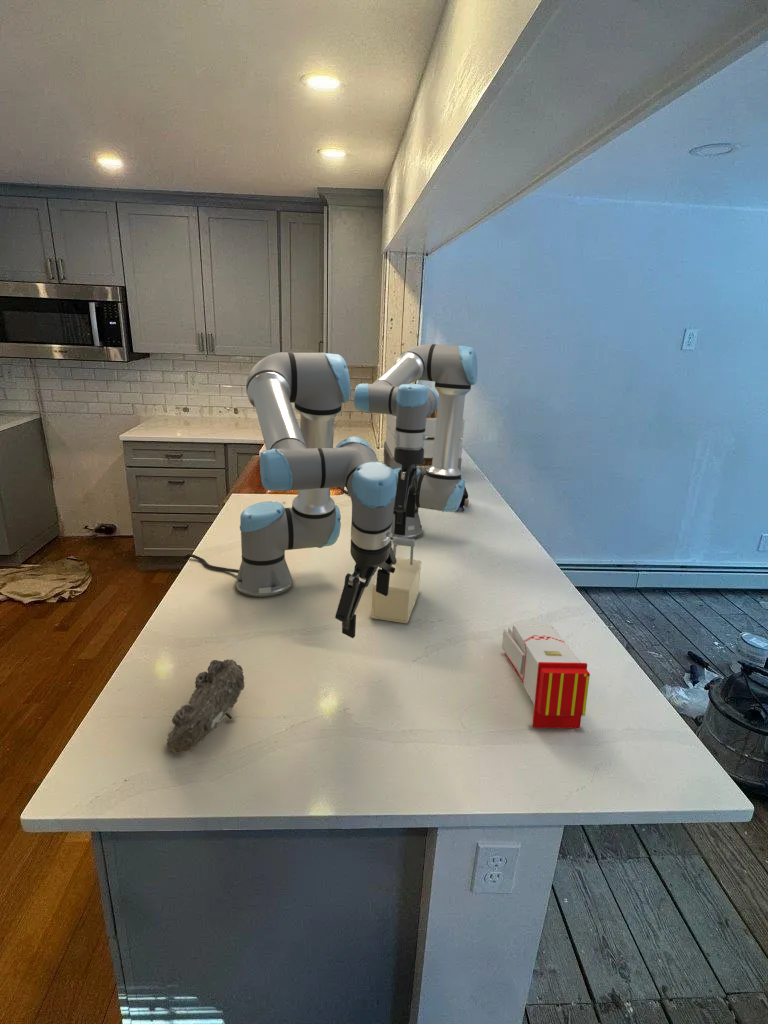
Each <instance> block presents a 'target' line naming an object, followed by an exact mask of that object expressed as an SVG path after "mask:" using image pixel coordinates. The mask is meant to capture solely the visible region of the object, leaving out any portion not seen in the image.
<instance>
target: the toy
mask: <svg viewBox="0 0 768 1024" xmlns="http://www.w3.org/2000/svg"><path fill="white" fill-rule="evenodd" d="M507 629H508V630H507ZM507 629H503V633H502V640H501V649H502V650H503V652H504V656H505V657H506V659H507V660H508V662H509V664H510V665H511V667H512V669H513V671H514V672H515V673H516V675H517V676H518V678H519V679H520V681H521V683H522V684H523V687H524V688H525V690H526V692H527V694H528V696H529V698H530V700H531V702H532V704H533V715H532V726H531V727H532V728H533V729H581V723H582V717H585V716H586V710H587V701H588V695H589V694H588V693H589V685H590V677H591V674H590V672H589V671H588V663H587V662H581V660H580V659H579V658H578V657H577V655H576V654H575V652H573V651H572V649H571V647H570V646H569V645H568V644H567V643H566V641H565V640H564V639H563V638H562V636H561V635H560V634H559V632H558V630H556V629H555V627H554V626H553V624H539V623H538V624H536V623H535V624H532V623H531V624H530V623H512V625H511V626H510V625H508V628H507Z"/></svg>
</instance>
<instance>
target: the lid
mask: <svg viewBox="0 0 768 1024" xmlns="http://www.w3.org/2000/svg"><path fill="white" fill-rule="evenodd" d="M397 546H404V547H409V548H410V552H409V553H410V555H409V558H404V557H397ZM415 546H416V538H415V539H407V538H400V537H393V539H392V549H393V552H394V555H395V557H396V560H397V561H396V564H395V565H393V564H392V567H394V568H395V572H394V573H391V572H390V579H389V590H395V591H402V592H410V589H411V587H412V584H413V582H414V580H415V577H416V575H417V572H418V570H419V567H420V565H421V566H422V560H419V559H414V552H415V551H414V549H415ZM380 569H381V570H382V568H380ZM376 582H377V577H376V578H375V580H374V581H373V584H372V588H373V587H375V588H376Z"/></svg>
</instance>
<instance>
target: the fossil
mask: <svg viewBox="0 0 768 1024" xmlns="http://www.w3.org/2000/svg"><path fill="white" fill-rule="evenodd" d="M243 670H244V669H243V667H242V665H240V664H237V662H236V661H235V660H234V659H232V658H231V659H227V658H226V659H224V660H223V661H222V660H217V659H212V660H211V661H210V663H209V665H208V666H207V671H201V672H199V673H198V674H197V675H196V676H195V680H194V684H195V685H194V687H195V689H194V690H193V693H192V694H191V697H190V698H189V700H188V704H184V705H182V706H181V707H180V709H177V710H176V711H175V713H174V715H173V716H172V718H171V723H172V724H173V727H172V730H171V731H170V732H168V734H167V738H166V741H167V742H166V745H167V749H168V750H169V751H173V752H174V753H176V754H178V753H182V752H188V751H189V752H192V751H193V750H195V748H196V747H197V746H199V744H200V743H201V742H203V741H204V740H205V739H206V738H207V737H208V736H209V735H210V734H211V733H212V732H214V730H215V729H217V727H218V726H219V724H220V722H221V721H222V720H223V719H224V718H225V716H226V717H227V719H229V720H233V717H232V715H230V714H229V710H230V709H231V708H234V706H235V704H236V703H237V702H238V699H239V697H240V695H241V693H242V691H243V690H245V689H244V688H245V675H244V671H243Z"/></svg>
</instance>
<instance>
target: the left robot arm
mask: <svg viewBox="0 0 768 1024" xmlns="http://www.w3.org/2000/svg"><path fill="white" fill-rule="evenodd" d="M349 373H350V372H349V368H348V365H347V363H346V360H345V358H344V357H343V356H342V355H341V354H338V353H327V352H324V351H323V352H286V351H283V352H282V351H279V352H275V353H272V354H270V355H266V356H265V357H264V358H262V359H261V360H259V361H258V362H257V363H256V364H255V365H254V366H253V367H252V369H251V370H250V371H249V373H248V376H247V379H246V385H245V388H246V390H245V391H246V395H247V399H248V401H249V403H250V404H251V405H252V406H253V408H255V411H256V415H257V419H258V422H259V427H260V430H261V435H262V439H263V442H264V446H265V449H266V450H263V451H261V452H260V455H259V475H260V482H261V485H262V488H263V489H264V490H266V491H272V492H274V491H275V492H276V491H277V492H278V491H279V492H280V491H282V492H289V491H297V495H296V496H295V497H294V498H293V499H292V501H291V507H285V505H284V504H283V503H281V502H280V501H261V502H257V503H254V504H251V505H249V506H247V507H245V508H244V509H243V510H242V511H241V513H240V520H239V521H240V523H239V524H240V525H239V531H240V543H241V545H240V546H241V563H240V566H239V569H236V568H227V567H223V566H217V565H216V566H215V565H211V564H209V563H208V562H207V561H206V560H205V559H204V558H202V557H200V556H198V555H196V554H194V553H193V554H192V553H187V554H185V555H184V556H183V557H182V558H183V559H188V558H193V559H196V560H197V561H199V562H202V564H203V565H204V566H205V567H207V568H209V569H212V570H217V571H224V572H228V573H236V574H237V576H236V579H235V580H236V581H235V586H236V589H237V591H238V592H239V593H241V594H243V595H245V596H247V597H248V596H249V597H253V598H269V597H276V596H279V595H281V594H283V593H285V592H288V590H290V589H291V587H292V584H293V577H292V574H291V571H290V568H289V566H288V564H287V561H286V553H285V552H286V551H292V550H303V549H314V548H317V549H320V548H324V547H331V546H333V545H334V544H336V542H337V541H338V538H339V537H340V533H341V528H342V527H341V526H342V522H341V519H342V518H341V517H342V516H341V510H340V508H339V506H338V505H337V504H336V503H335V500H334V499H333V498H332V497H331V489H333V488H337V487H341V488H345V489H346V491H347V492H348V493H349V495H348V496H349V497H350V500H351V525H350V551H349V552H350V556H351V558H352V559H353V561H354V564H355V565H354V570H353V573H352V574H351V573H346V575H345V577H344V585H343V589H342V592H341V595H340V599H339V602H338V605H337V609H336V613H335V616H334V619H336V620H337V621H339V622H341V633H342V635H343V634H344V635H345V636H347V637H349V638H351V639H354V638H355V637H356V626H357V614H356V612H357V608H358V606H359V603H360V601H361V599H362V596H363V594H364V591H365V590H366V588H368V587H369V585H370V584H371V583H370V582H371V580H372V578H373V576H374V575H375V573H376V578H377V582H376V592H378V593H380V594H382V595H384V596H387V595H388V589H389V579H390V572H391V573H394V572H395V568H394V567H392V564H393V565H395V564H396V561H397V560H396V557H397V556H396V557H395V555H394V552H393V540H392V539H390V538H391V537H392V535H393V534H392V533H391V528H392V519H393V510H394V501H395V495H396V475H395V472H394V471H393V469H392V468H390V467H387V465H386V464H384V462H381V461H379V459H378V457H377V455H376V452H375V451H374V449H373V448H372V447H371V445H370V444H369V442H368V441H366V439H364V438H362V437H359V436H349V437H347V438H345V439H342V440H341V441H339V442H338V443H337V445H336V446H335V447H334V436H335V421H336V419H335V418H336V416H338V415H339V414H340V413H341V412H342V404H346V403H348V402H349V401H350V399H351V394H352V393H351V392H352V391H351V378H350V374H349ZM292 404H294V408H293V406H292ZM295 410H296V412H298V414H299V415H300V420H299V421H300V422H298V419H297V417H296V414H295ZM378 461H379V462H378ZM337 489H338V488H337ZM381 569H382V570H381ZM360 579H362V580H364V581H362V580H360Z"/></svg>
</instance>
